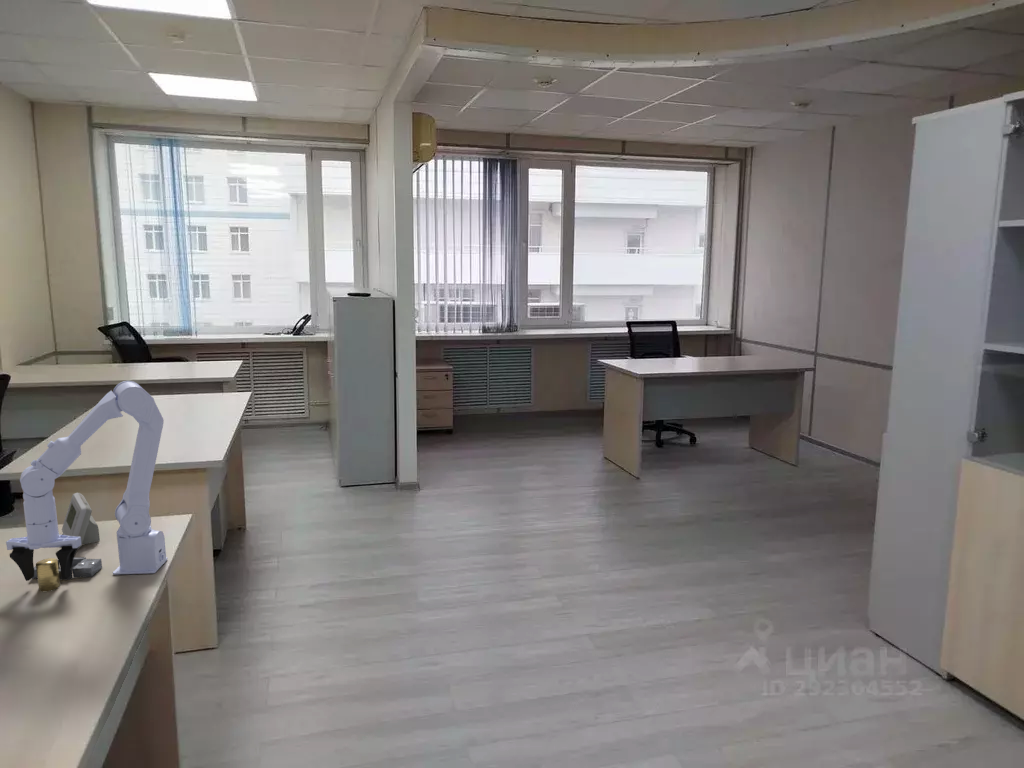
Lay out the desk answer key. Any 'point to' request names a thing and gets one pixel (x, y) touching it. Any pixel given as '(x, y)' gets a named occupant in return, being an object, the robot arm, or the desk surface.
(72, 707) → the desk surface
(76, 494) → the digital clock
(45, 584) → the link pin
